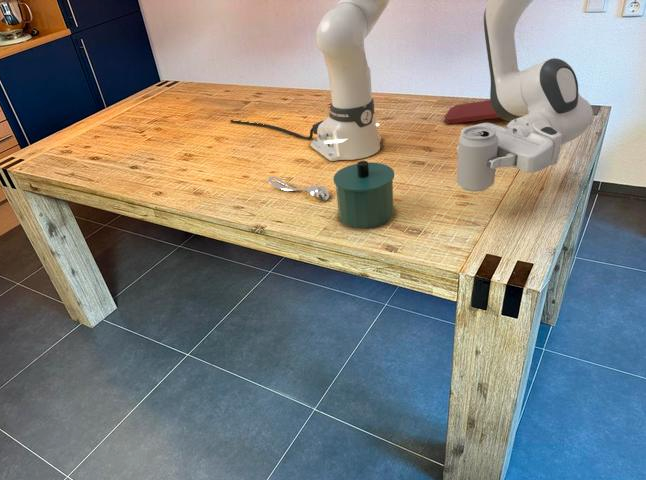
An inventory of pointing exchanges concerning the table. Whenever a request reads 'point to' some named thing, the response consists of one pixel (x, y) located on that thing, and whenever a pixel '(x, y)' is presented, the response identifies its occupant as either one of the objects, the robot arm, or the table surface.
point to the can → (476, 158)
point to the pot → (365, 207)
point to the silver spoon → (313, 190)
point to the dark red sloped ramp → (470, 112)
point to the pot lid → (363, 177)
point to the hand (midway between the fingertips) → (474, 157)
